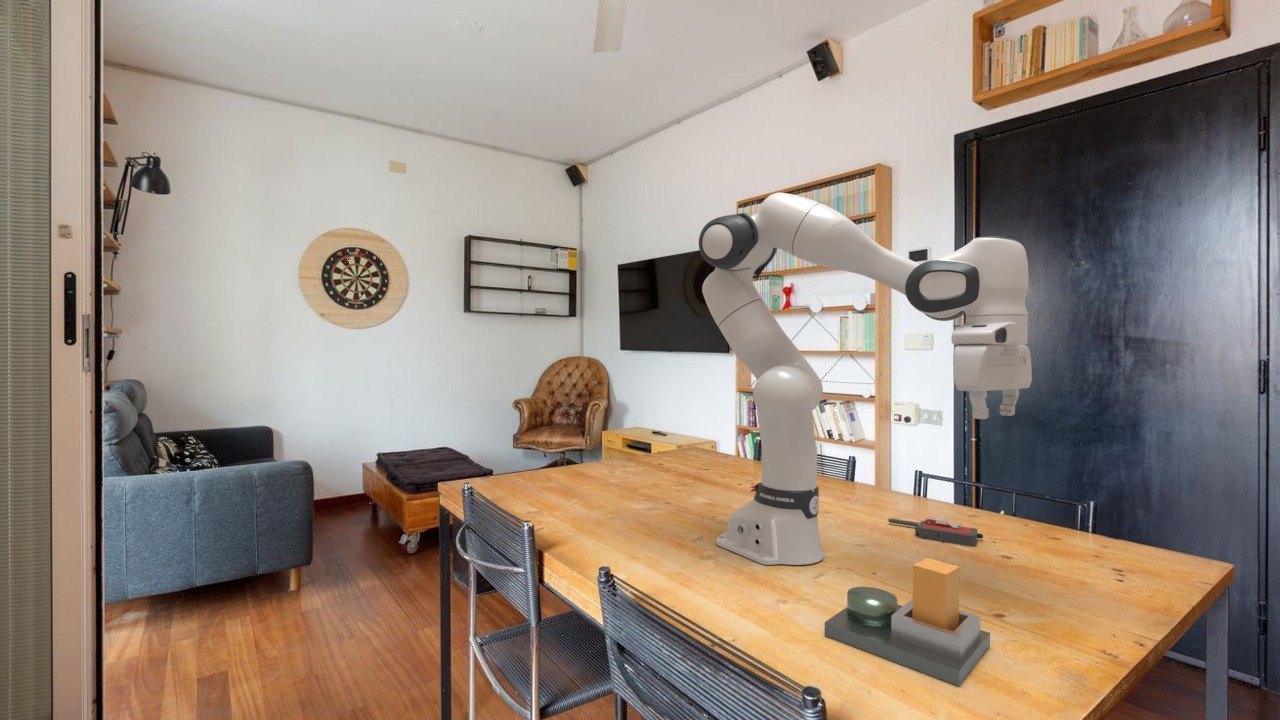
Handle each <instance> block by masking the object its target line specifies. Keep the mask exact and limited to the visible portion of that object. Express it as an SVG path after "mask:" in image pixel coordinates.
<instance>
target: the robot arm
mask: <svg viewBox="0 0 1280 720" xmlns="http://www.w3.org/2000/svg"><path fill="white" fill-rule="evenodd" d="M698 249H699V252H700V254H701V256H702V258H703V260H705V262H707V263H708V264H709V265H711V266H712V267H714V268H715V269H714V271H712V272H711V273H709V274H708V275H707V277H706V278H705V280H704V281H703V283H702V286H701V289H702V290H701V293H702V295H703V298H704V300H705V303H706V306H707V308H708V310H709V312H710V314H711V316H712V319H713V320H714V322H715V324H716V325H717V327H718V329H719V330H720V332H721V334H722V335H723V337H724V339H725V340H726V342H727V343H728V345H729V347H730V348H731V350H732V351H733V354H734V355H735V357H736V358H737V359H738V360H739V362H741V363H743V365H744V367H746V368H747V369H748V370H749V372H750V373H751V374H752V375H753V376H754V377H755V379H756V382H755V384H754V387H753V391H752V397H753V402H754V405H755V407H756V414H757V424H758V428H759V429H758V430H759V435H760V442H761V443H760V444H761V482H759V483H756V484H755V485H753V486H752V485H751V486H750V487H749V488H750V493H752V492H753V493H754V492H755V494H754V496H753V499H752V500H750V501H749V502H748V503H746V504H744V505H743V506H741V507H740V508H738V509H737V510H736V511H734V512H732V514H731V515H730V516H729V519H728V522H727V528H726V532H723V533H721V534H720V535H718V536H717V538H716V540H715V545H716V546H718V547H721V548H723V549H725V550H728V551H731V552H732V553H735V554H737V555H740V556H742V557H745V558H747V559H749V560H751V561H754V562H756V563H758V564H761V565H767V566H771V565H789V566H793V565H794V566H801V565H802V566H803V565H804V566H805V565H812V564H815V563H818V562H820V561H822V560H823V559H824V558H825V553H824V550H823V547H822V541H821V536H820V532H819V531H820V530H819V523H818V521H819V520H818V515H819V508H820V506H819V505H820V499H819V498H820V495H819V493H820V492H819V491H820V489H819V486H817V484H818V483H817V482H818V481H817V480H818V479H817V477H818V473H817V472H818V471H817V470H818V448H817V444H816V437H815V426H814V419H813V416H814V414H813V411H814V410H815V409H816V408H817V407H818V405H819V404H820V403H821V401H822V397H823V391H824V387H823V383H822V380H821V378H820V377H819V374H817V372H816V371H815V370H814V369H813V367H812V366H811V364H810V363H809V361H807V359H806V357H805V356H804V355H803V354H802V353H801V351H800V350H799V348H798V347H797V346H796V345H795V344H794V342H793V341H792V340H791V338H790V337H788V335H787V334H786V332H785V331H784V330H783V328H782V327H781V325H780V324H779V322H778V320H777V319H776V318H775V316H774V314H773V313H772V312H771V310H770V308H769V307H768V305H767V304H766V303H765V300H764V299H763V297H762V296H761V294H760V293H759V292H758V289H756V286H755V285H754V281H753V279H756V278H758V277H760V275H762V273H763V271H765V268H766V267H767V266H768V265H769V264H770V263H771V262H772V260H773V259H775V256H776V255H777V254H776V253H777V251H778V250H781V251H783V252H786V254H787V253H788V254H790V255H792V256H793V257H795V258H797V259H800V260H802V261H805V262H808V263H810V264H814V265H816V266H820V267H825V268H827V269H828V268H829V269H833V270H836V271H837V270H838V271H843V272H848V273H853V274H857V275H860V276H864V277H866V278H869V279H871V280H874V281H876V282H878V283H880V284H882V285H884V286H887V287H889V288H890V289H893V290H895V291H897V292H899V293H901V294H903V295H904V296H906V299H907V301H908V302H909V304H910V305H911V306H912V307H913V308H914V309H915V310H917V311H918V312H921V313H922V314H924V315H925V316H926V317H928V318H929V319H932V320H935V321H941V322H947V321H948V322H949V321H953V320H957V319H959V318H961V317H962V316H964V315H965V323H963V324H962V325H961V326H960V327H958V328H957V329H955V330H953V331H952V333H951V343H952V344H953V345H955V347H954V348H953V354H952V355H953V357H952V358H953V359H952V361H953V362H952V366H953V368H952V369H953V372H952V373H953V383H954V385H955V388H956V390H957V391H963V392H968V393H969V394H968V396H969V397H968V398H969V401H970V403H971V406H972V416H973V418H974V419H977V420H986V419H988V418H989V416H990V414H989V413H990V408H988V407H987V402H986V398H988V392H989V391H1001V395H1003V396H1002V402H1001V404H1000V405H999V414H1000V415H1001V416H1007V417H1011V416H1015V414H1016V413H1015V412H1016V405H1017V401H1018V399H1019V395H1020V389H1028V388H1030V387H1031V384H1032V381H1033V375H1032V374H1033V373H1032V372H1033V371H1032V358H1031V356H1032V355H1031V351H1030V348H1029V347H1028V346H1027V345H1028V336H1029V335H1028V334H1029V331H1028V329H1029V327H1028V325H1029V323H1028V322H1029V320H1028V319H1029V313H1028V310H1027V306H1026V298H1027V294H1028V291H1029V264H1028V262H1029V261H1028V257H1027V251H1026V249H1025V247H1024V245H1023V244H1022V243H1021V242H1020V241H1018V240H1016V239H1014V238H1010V237H1007V236H998V235H986V236H977V237H975V238H973V239H972V240H970V242H968V243H967V244H966V245H964V246H962V247H960V248H958V249H957V250H955V251H953V252H951V253H950V252H949V253H948V254H946V255H943V256H941V257H938V258H935V259H930V260H928V261H925V262H922V263H919V262H916V261H914V260H912V259H909V258H907V257H905V256H903V255H901V254H899V253H896V252H894V251H892V250H890V249H887V248H886V247H884V246H882V245H880V244H879V243H878V242H877V241H875V240H874V239H872V238H871V237H870V236H869V235H868V234H866V232H864V231H863V230H862V229H861V228H860V227H859V226H858V225H857V224H856V223H855V222H854V221H852V220H851V219H850V218H848V217H847V216H845V215H844V214H842V213H841V212H839V211H837V210H836V209H834V208H832V207H831V206H828V205H826V204H823V203H821V202H818V201H816V200H813V199H810V198H809V197H804V196H800V195H796V194H792V193H786V192H775V193H774V192H773V193H772V194H769V196H767V197H766V198H765V199H764V200H763V201H762V202H761V204H760V206H759V208H758V209H757V211H756V213H754V214H753V215H749V214H748V213H747V212H741V213H735V214H727V215H723V216H719V217H716V218H713V219H711V220H710V221H709V222H707V223H706V224H705V225H704V226H703V227H702V229H701V231H700V234H699V237H698Z"/></svg>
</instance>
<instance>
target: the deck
mask: <svg viewBox="0 0 1280 720" xmlns="http://www.w3.org/2000/svg"><path fill="white" fill-rule="evenodd" d="M846 595H847V601H846V603H847V605H846V607H845V608H843V609H842V610H841V611H839V612H837V613H836V614H834V615H833V616H831V617H829V618H828V619H827V620H826V621H824V636H825V637H827V638H830V639H832V640H835V641H838V642H840V643H842V644H845V645H848V646H851V647H854V648H856V649H859V650H862V651H864V652H867V653H870V654H872V655H874V656H878V657H880V658H882V659H885V660H887V661H889V662H890V661H891V662H894V663H896V664H898V665H901V666H904V667H906V668H909V669H911V670H914V671H916V672H920V673H922V674H925V675H927V676H930V677H933V678H935V679H938V680H941V681H943V682H946V683H949V684H950V685H954V686H956V687H960V686H961V685H962V684H963V683H964V681H965V680H966V679H967V677H968V676H969V675H970V673H971V672H972V670H974V668H975V667H976V665H977V664H978V663H979V662H980V660H981V659H982V658H983V656H984V655H985V654H986V653H987V652H988V651H989V649H990V647H991V632H989V631H985V630H983V629H981V620H982V619H981V615H978V614H974V613H971V612H967V611H964V610H960V609H959V627H958V628H957V629H956V630H955V631H954V632H953V631H950V630H947V629H944V628H941V627H938V626H934V625H931V624H928V623H925V622H922V621H919V620H916V619H913V618H912V615H913V598H911V599H910V600H909V601H908V602H906V603H905V604H904V605H901V604H899V603H898V598H897V597H896V596H895V595H894V594H892V593H891V592H890V591H887V590H884V589H880V588H877V587H871V586H856V587H852V588H849V589H848V591H847V592H846Z"/></svg>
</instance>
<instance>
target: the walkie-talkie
mask: <svg viewBox="0 0 1280 720" xmlns="http://www.w3.org/2000/svg"><path fill="white" fill-rule="evenodd" d="M887 521H888V523H889V524H891V523H892V524H896V525H903V526H909V527H914V528H915V529H914V534H915V535H916V536H918V537H917V538H919V539H923V540H927V541H934V542H940V543H946V544H952V545H953V544H954V545H958V546H963V547H964V546H965V547H970V548H976V547H977V543H978V539H980V540H981V539H983V538H984V534H982V533H979V532H978V528H975V527H969V526H968V527H967V526H963V523H962V522H958V523H957V524H954V523H953V522H951V521H949V520H948V519H945V518H938V517H937V518H936V517H933V516H932V517H931V516H929V517H926V518H925V520H921V521H920V522H916V521H910V520H909V521H908V520H903V519H897V518H888V520H887Z"/></svg>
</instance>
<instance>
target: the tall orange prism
mask: <svg viewBox="0 0 1280 720" xmlns="http://www.w3.org/2000/svg"><path fill="white" fill-rule="evenodd" d="M960 570H961V568H960V566H958V565H954V564H950V563H947V562H943V561H939V560H937V559H933V558H927V557H926V558H925V559H923V560H920V561H919V562H917V563H915V564H913V568H912V599H913V615H912V618H913V619H916V620H919V621H922V622H925V623H928V624H931V625H934V626H938V627H941V628H944V629H947V630H950V631H953V632H954V631H955V630H956V629H957V628H958V627H959V610H960V574H961V573H960Z"/></svg>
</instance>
